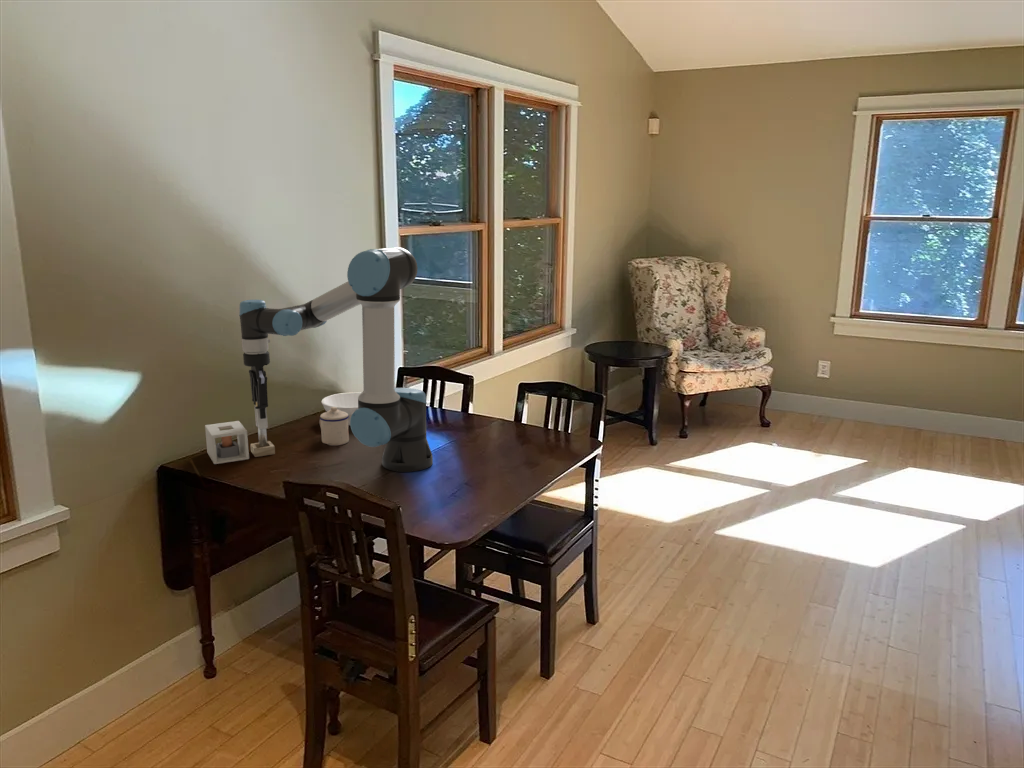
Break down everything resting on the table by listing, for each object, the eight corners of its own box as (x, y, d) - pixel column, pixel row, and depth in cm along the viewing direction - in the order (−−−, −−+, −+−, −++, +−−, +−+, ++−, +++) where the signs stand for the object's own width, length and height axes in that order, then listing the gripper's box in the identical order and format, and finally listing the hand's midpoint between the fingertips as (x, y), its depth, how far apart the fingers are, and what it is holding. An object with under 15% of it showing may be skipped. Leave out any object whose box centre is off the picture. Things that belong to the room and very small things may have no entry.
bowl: (350, 434, 265) (349, 411, 263) (309, 423, 277) (308, 400, 275) (395, 420, 281) (394, 398, 279) (355, 410, 293) (354, 389, 291)
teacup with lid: (355, 441, 257) (354, 407, 255) (332, 448, 251) (331, 412, 248) (332, 434, 265) (330, 400, 262) (309, 440, 258) (308, 406, 255)
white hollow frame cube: (249, 460, 238) (247, 430, 236) (214, 465, 233) (211, 435, 231) (240, 449, 248) (238, 420, 246) (207, 454, 243) (204, 425, 241)
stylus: (268, 445, 243) (265, 401, 239) (260, 447, 241) (256, 402, 238) (266, 443, 245) (263, 400, 241) (258, 444, 243) (254, 401, 240)
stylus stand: (275, 455, 243) (274, 446, 242) (255, 458, 240) (254, 449, 239) (270, 450, 248) (269, 440, 247) (250, 452, 245) (250, 443, 244)
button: (233, 446, 239) (232, 433, 238) (222, 447, 238) (221, 435, 237) (231, 443, 242) (230, 431, 241) (221, 444, 240) (220, 432, 239)
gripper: (275, 354, 231) (280, 431, 237) (262, 346, 244) (268, 419, 250) (248, 357, 228) (255, 435, 233) (237, 348, 241) (243, 422, 246)
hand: (261, 426), depth 242 cm, fingers closed on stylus, 2 cm apart
